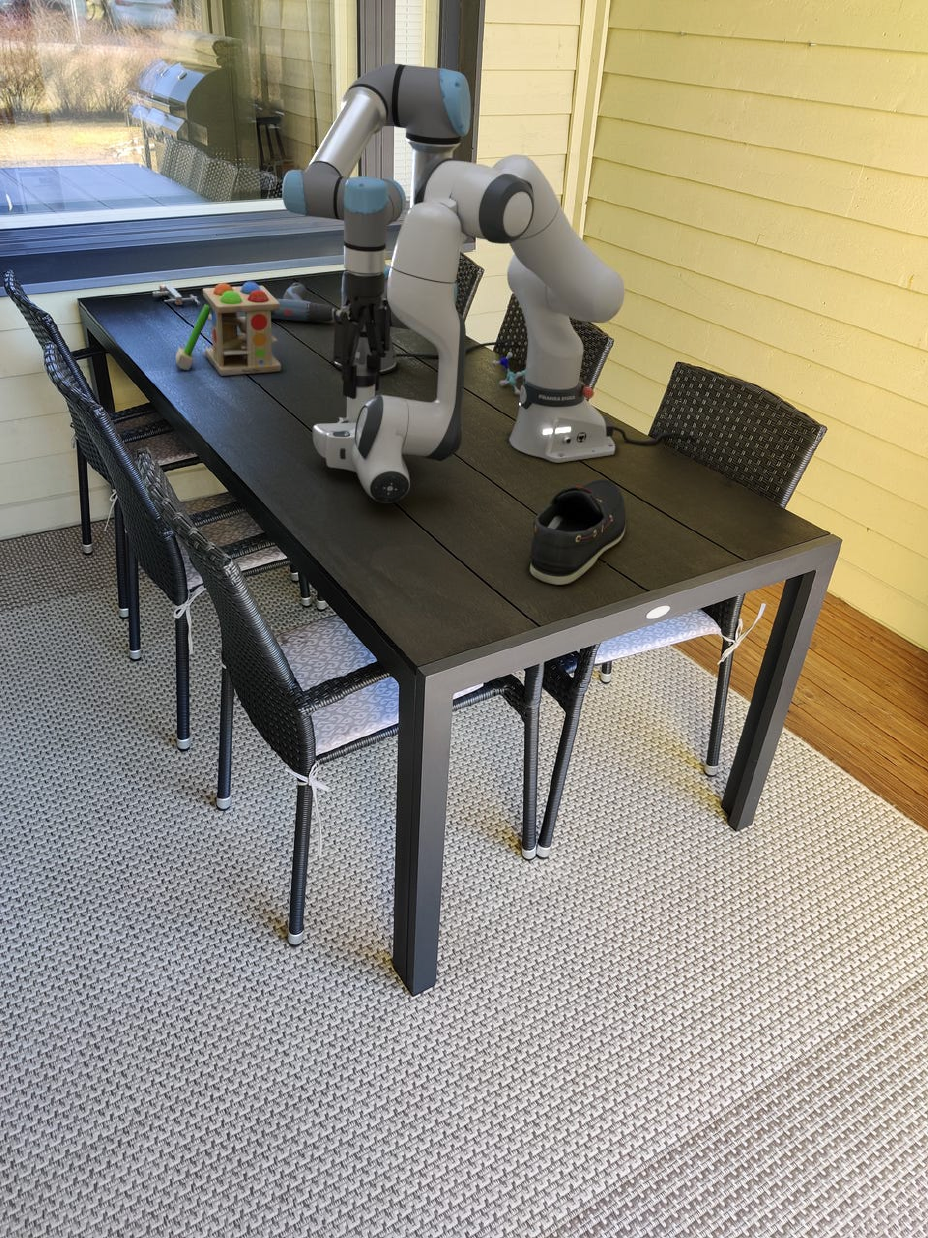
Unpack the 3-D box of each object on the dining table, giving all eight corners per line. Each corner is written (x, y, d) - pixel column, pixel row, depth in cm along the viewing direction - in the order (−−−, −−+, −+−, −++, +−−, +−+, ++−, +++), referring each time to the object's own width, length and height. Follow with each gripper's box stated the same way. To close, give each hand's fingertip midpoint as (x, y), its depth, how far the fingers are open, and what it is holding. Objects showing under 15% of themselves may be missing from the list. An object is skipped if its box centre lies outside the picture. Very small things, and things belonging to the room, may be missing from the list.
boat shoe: (648, 521, 183) (657, 470, 178) (567, 591, 159) (574, 534, 154) (587, 503, 189) (593, 452, 184) (499, 567, 165) (504, 512, 160)
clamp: (148, 285, 268) (184, 283, 272) (149, 293, 269) (185, 291, 274) (164, 302, 257) (201, 299, 262) (164, 310, 259) (202, 307, 263)
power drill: (344, 304, 276) (335, 327, 259) (277, 298, 275) (264, 321, 258) (344, 285, 273) (335, 306, 256) (277, 279, 272) (264, 300, 255)
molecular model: (536, 387, 225) (523, 344, 224) (499, 400, 229) (485, 359, 227) (549, 385, 235) (536, 345, 234) (513, 399, 239) (500, 359, 238)
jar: (340, 451, 197) (341, 372, 188) (357, 443, 201) (359, 366, 192) (361, 459, 195) (363, 380, 186) (378, 451, 199) (381, 373, 189)
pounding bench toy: (183, 379, 220) (176, 299, 210) (169, 357, 231) (162, 280, 221) (282, 371, 230) (280, 294, 220) (264, 350, 240) (262, 276, 230)
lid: (347, 386, 187) (347, 375, 185) (344, 375, 191) (344, 364, 190) (378, 387, 188) (378, 376, 186) (375, 375, 192) (375, 365, 191)
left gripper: (383, 258, 186) (379, 375, 199) (312, 274, 173) (312, 398, 186) (413, 267, 182) (407, 386, 195) (343, 284, 170) (341, 410, 183)
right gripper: (427, 432, 185) (411, 404, 196) (319, 436, 180) (308, 406, 191) (425, 463, 189) (409, 433, 199) (319, 467, 183) (308, 436, 194)
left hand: (361, 392), depth 191 cm, fingers closed on lid, 6 cm apart
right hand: (359, 420), depth 195 cm, fingers closed on jar, 5 cm apart
